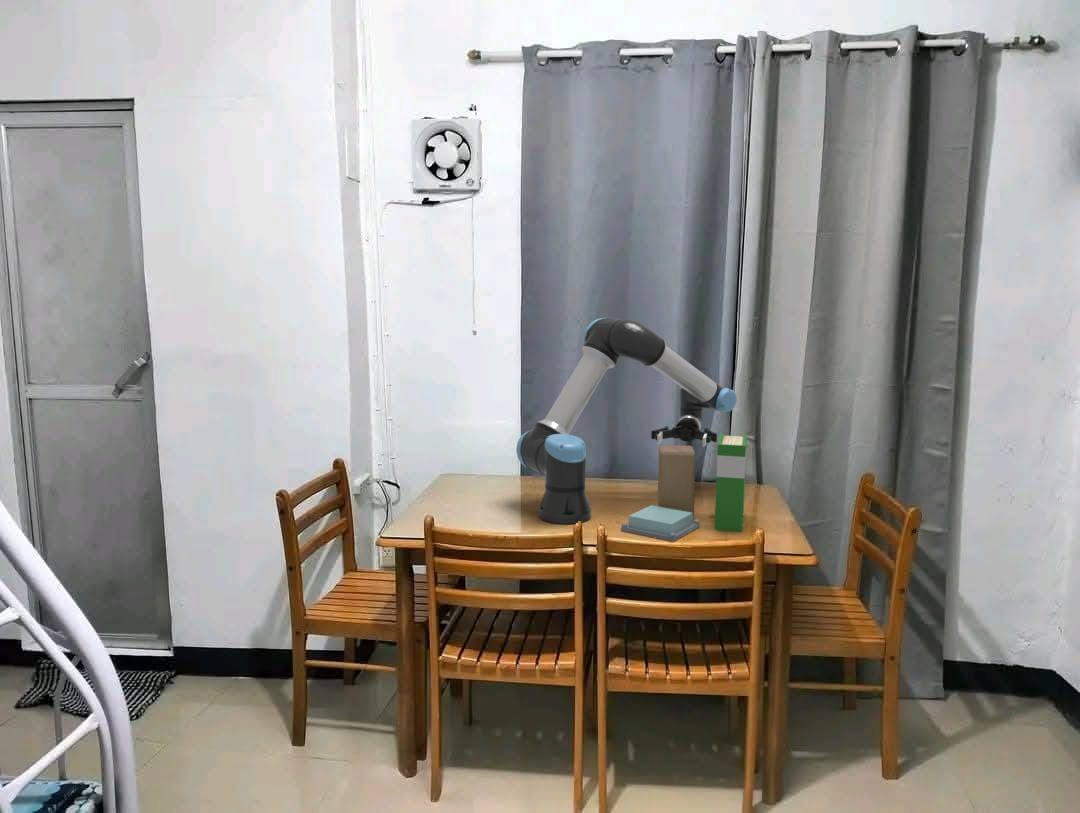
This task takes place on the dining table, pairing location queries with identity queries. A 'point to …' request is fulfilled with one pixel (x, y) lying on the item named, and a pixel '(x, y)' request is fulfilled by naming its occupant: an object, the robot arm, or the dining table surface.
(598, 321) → the robot arm
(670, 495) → the wooden block
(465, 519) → the dining table surface
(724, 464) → the hardback book
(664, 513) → the base plate
